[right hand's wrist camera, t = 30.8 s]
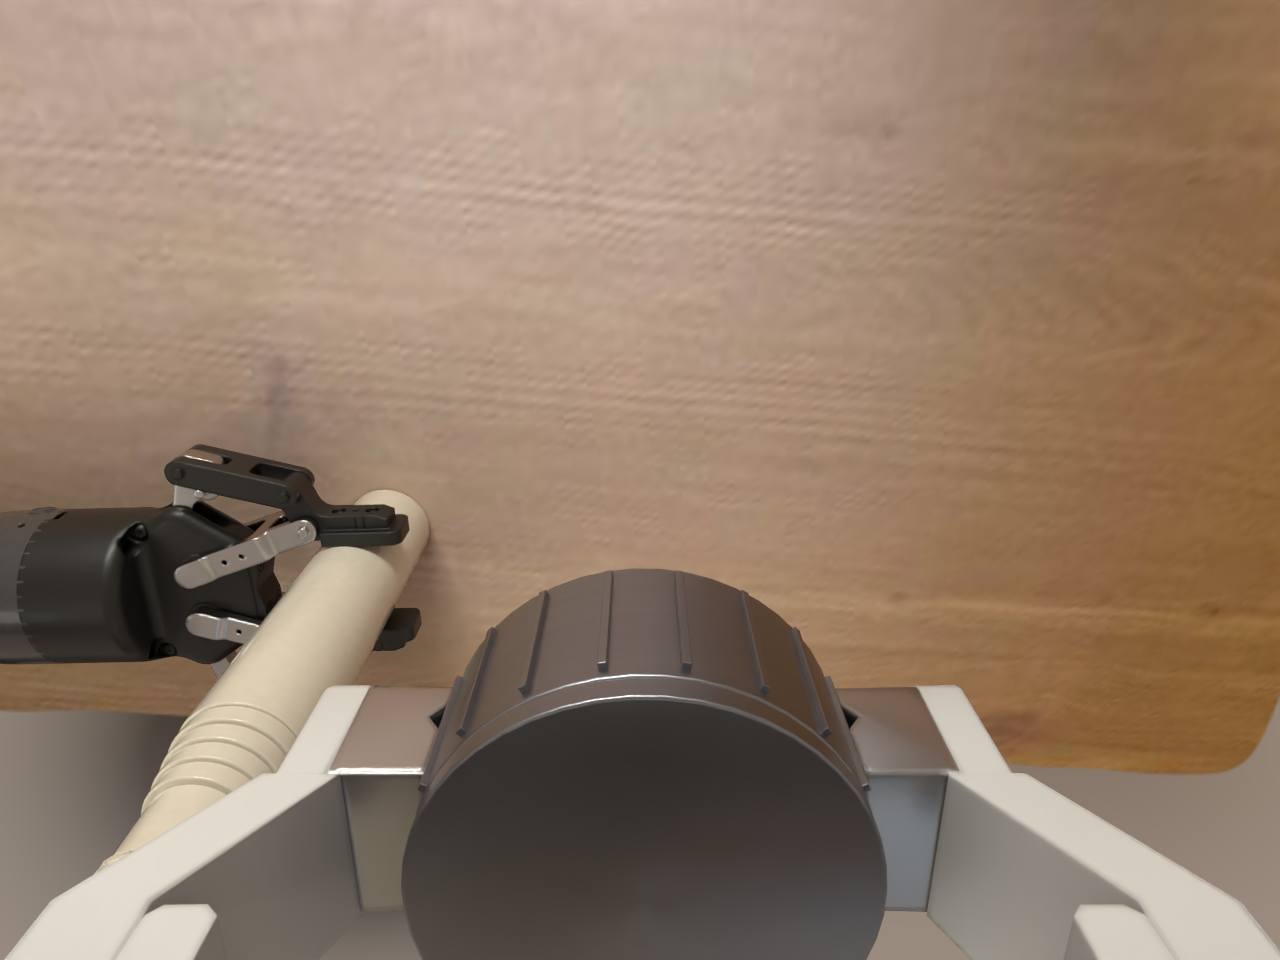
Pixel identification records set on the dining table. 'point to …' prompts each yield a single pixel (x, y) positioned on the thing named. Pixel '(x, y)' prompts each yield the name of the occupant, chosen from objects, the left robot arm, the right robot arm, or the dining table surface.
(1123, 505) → the dining table surface
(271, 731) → the bottle
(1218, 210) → the dining table surface
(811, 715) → the cap
